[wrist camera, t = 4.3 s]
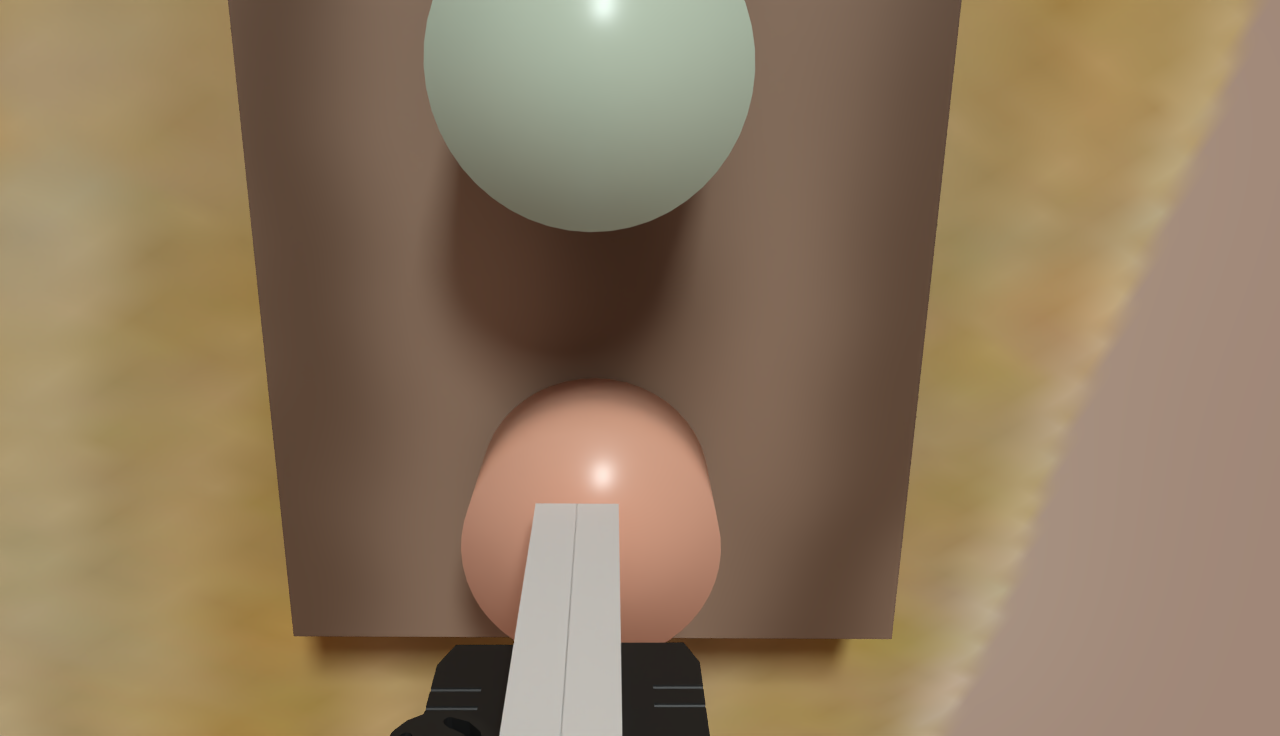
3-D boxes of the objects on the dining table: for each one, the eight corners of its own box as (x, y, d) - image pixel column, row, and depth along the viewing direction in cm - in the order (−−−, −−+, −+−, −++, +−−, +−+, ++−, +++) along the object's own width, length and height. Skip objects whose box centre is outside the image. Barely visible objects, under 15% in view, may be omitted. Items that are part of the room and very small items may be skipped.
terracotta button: (484, 584, 23) (465, 662, 20) (477, 376, 22) (455, 429, 19) (704, 585, 23) (715, 663, 21) (712, 379, 22) (726, 432, 19)
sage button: (459, 199, 19) (431, 230, 16) (448, -95, 17) (415, -117, 15) (727, 203, 19) (746, 234, 16) (740, -89, 18) (764, -111, 15)
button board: (328, 571, 27) (293, 635, 24) (215, -705, 19) (141, -838, 16) (863, 574, 27) (891, 638, 24) (984, -680, 19) (1049, -805, 16)
